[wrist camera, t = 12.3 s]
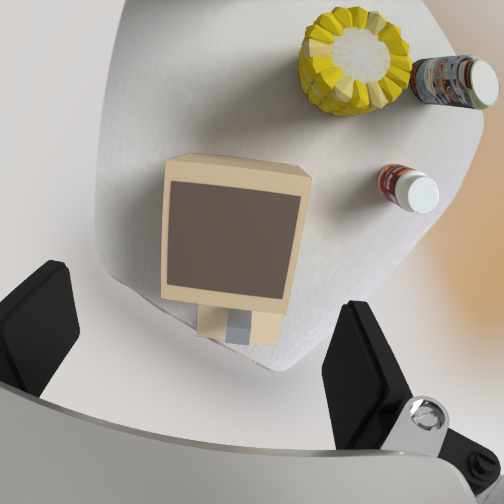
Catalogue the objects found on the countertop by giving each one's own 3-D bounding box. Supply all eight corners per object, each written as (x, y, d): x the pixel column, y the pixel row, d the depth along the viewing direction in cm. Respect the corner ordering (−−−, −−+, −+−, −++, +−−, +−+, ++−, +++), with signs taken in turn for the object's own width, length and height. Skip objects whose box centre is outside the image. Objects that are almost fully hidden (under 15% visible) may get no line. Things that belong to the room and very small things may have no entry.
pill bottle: (391, 155, 35) (422, 163, 27) (415, 179, 36) (449, 193, 28) (369, 184, 37) (396, 198, 29) (394, 207, 38) (423, 226, 30)
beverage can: (409, 53, 30) (459, 32, 19) (453, 78, 31) (509, 70, 19) (399, 94, 32) (450, 85, 21) (444, 117, 33) (501, 120, 22)
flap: (200, 268, 42) (190, 291, 36) (289, 278, 42) (294, 303, 36) (197, 334, 46) (189, 362, 40) (276, 343, 46) (278, 372, 40)
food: (369, 116, 35) (290, 108, 36) (376, 30, 28) (293, 18, 29) (416, 151, 22) (298, 136, 23) (431, 18, 16) (304, -8, 16)
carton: (189, 152, 36) (165, 160, 26) (298, 165, 36) (312, 177, 27) (181, 261, 41) (160, 299, 32) (280, 273, 41) (285, 315, 32)
